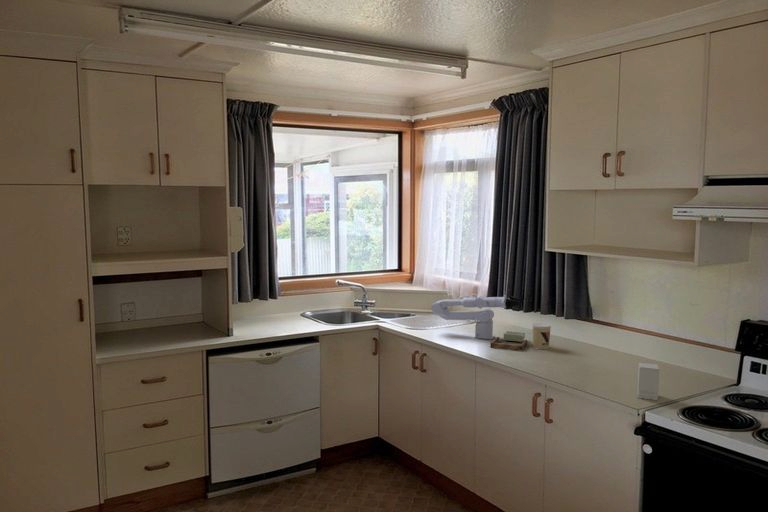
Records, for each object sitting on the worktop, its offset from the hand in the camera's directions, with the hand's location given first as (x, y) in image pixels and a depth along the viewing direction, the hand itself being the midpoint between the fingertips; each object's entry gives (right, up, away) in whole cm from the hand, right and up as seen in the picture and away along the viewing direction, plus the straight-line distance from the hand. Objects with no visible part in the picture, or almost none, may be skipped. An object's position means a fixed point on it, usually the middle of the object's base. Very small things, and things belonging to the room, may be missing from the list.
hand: (521, 302), depth 332 cm
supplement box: (+30, -31, -90) cm, 100 cm away
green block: (-3, -22, +2) cm, 22 cm away
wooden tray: (-8, -23, -9) cm, 26 cm away
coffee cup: (+8, -23, -12) cm, 27 cm away
